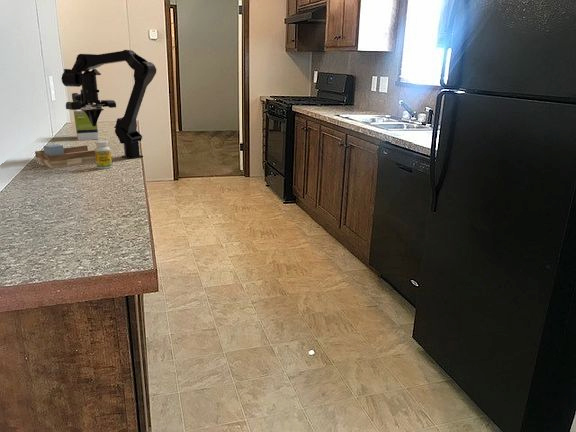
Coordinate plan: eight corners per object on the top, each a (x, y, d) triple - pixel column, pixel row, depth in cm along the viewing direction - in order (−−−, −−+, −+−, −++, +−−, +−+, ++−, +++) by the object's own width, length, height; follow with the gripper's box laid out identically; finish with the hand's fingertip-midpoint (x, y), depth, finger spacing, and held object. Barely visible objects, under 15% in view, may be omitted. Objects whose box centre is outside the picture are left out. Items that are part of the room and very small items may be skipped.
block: (64, 159, 175) (63, 145, 174) (51, 160, 172) (49, 147, 170) (59, 157, 178) (57, 144, 177) (45, 159, 175) (43, 145, 173)
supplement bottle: (110, 165, 177) (107, 140, 174) (113, 168, 173) (111, 142, 170) (95, 167, 174) (92, 141, 172) (98, 169, 170) (95, 143, 167)
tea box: (76, 136, 246) (72, 107, 242) (97, 135, 250) (93, 107, 246) (77, 140, 233) (73, 110, 229) (99, 139, 237) (95, 109, 233)
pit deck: (104, 161, 185) (103, 149, 184) (52, 168, 171) (50, 156, 170) (87, 156, 194) (86, 145, 193) (36, 163, 180) (34, 151, 178)
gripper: (101, 85, 200) (105, 122, 205) (57, 86, 187) (62, 126, 191) (115, 86, 193) (118, 125, 198) (69, 87, 180) (74, 129, 184)
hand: (93, 126), depth 193 cm, fingers closed
